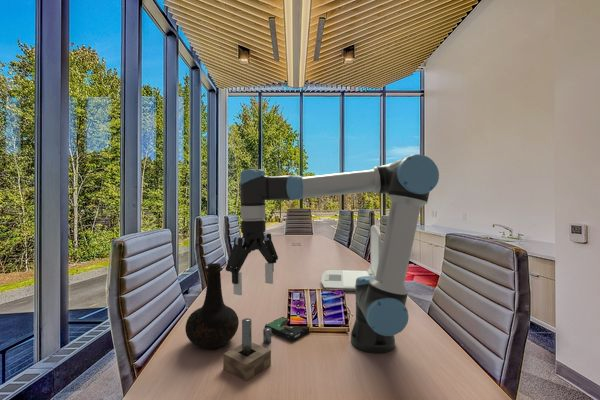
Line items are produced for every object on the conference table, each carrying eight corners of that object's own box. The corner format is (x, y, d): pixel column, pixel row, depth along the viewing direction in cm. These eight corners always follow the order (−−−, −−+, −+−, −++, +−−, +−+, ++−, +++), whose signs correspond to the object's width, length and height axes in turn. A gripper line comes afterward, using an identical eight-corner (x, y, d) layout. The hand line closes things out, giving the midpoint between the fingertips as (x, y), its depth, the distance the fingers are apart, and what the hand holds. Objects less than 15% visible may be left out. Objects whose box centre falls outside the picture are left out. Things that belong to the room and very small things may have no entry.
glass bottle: (179, 340, 106) (179, 262, 106) (226, 327, 117) (226, 256, 117) (194, 362, 92) (194, 272, 92) (247, 345, 103) (247, 264, 103)
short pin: (272, 341, 105) (272, 329, 105) (267, 344, 103) (267, 331, 103) (267, 339, 107) (267, 326, 107) (261, 342, 105) (261, 329, 105)
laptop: (323, 273, 204) (323, 223, 204) (372, 274, 199) (372, 223, 199) (319, 292, 162) (319, 229, 162) (381, 294, 158) (381, 229, 158)
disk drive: (310, 333, 113) (282, 322, 122) (310, 326, 113) (282, 316, 122) (292, 343, 105) (263, 331, 114) (292, 336, 105) (263, 324, 114)
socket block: (270, 364, 90) (270, 350, 90) (246, 380, 82) (246, 364, 82) (248, 354, 96) (248, 340, 96) (223, 368, 88) (223, 353, 88)
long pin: (253, 365, 90) (253, 319, 90) (246, 370, 88) (246, 322, 88) (247, 362, 92) (247, 317, 92) (240, 366, 89) (240, 320, 89)
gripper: (270, 217, 104) (272, 277, 104) (212, 222, 83) (213, 297, 83) (287, 217, 99) (288, 280, 99) (229, 223, 79) (231, 302, 79)
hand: (254, 288), depth 91 cm, fingers open, 13 cm apart
